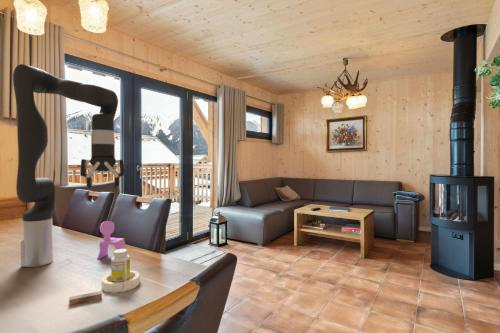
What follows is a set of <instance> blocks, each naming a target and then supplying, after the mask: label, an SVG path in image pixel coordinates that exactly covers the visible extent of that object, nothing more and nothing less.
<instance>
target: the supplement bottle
mask: <svg viewBox="0 0 500 333" xmlns="http://www.w3.org/2000/svg"><path fill="white" fill-rule="evenodd" d="M110 259H111V260H110V268H111V270H110V273H111V281H112V282H114V283H116V282H124V281H127V280H130V270H131V261H130V260H131V256H130V255H129V254H128V250H127V249H126V248H125V249H118V250H116V249H115V250H114V251H113V256H112V257H111V258H110Z"/></svg>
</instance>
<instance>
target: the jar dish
mask: <svg viewBox="0 0 500 333" xmlns="http://www.w3.org/2000/svg"><path fill="white" fill-rule="evenodd" d="M140 281H141V280H140V272H138V271H137V270H131V269H130V280H127V281H124V282H116V283H114V282H112V281H111V272H110V273H108V274H106V275H105V276H103V278H102V279H101V290H102V291H104V292H106V293H111V294H112V293H113V294H114V293H115V294H116V293H122V292H126V291H130V290H133V289H134V288H136V287H138V286H139V285H140Z"/></svg>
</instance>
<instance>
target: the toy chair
mask: <svg viewBox="0 0 500 333" xmlns="http://www.w3.org/2000/svg"><path fill="white" fill-rule="evenodd" d="M99 231H100V233H101V234H102V236H103V240H101V241H99V244H98V245H99V246H98V247H99V252H98V255H97V258H96V260H100V259H101V258H103V257H106V256H108V255H109V246H111V245H112V246H114V248H115V250H118V249H126V248H125V247H126V241H125V238H124V237H123V238H122V237H111V234H113V233H114V231H115V223H114V222H113V221H110V220H104V221H103V222H102V223H100V226H99Z"/></svg>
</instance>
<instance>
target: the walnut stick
mask: <svg viewBox="0 0 500 333" xmlns="http://www.w3.org/2000/svg"><path fill="white" fill-rule="evenodd" d="M102 295H103V294H102V290H100V291H98V290H97V291H93V292H89V293H83V294H78V295H74V296H73V295H72V296H69V297H68V299H69V300H68V304H69V305H68V306H69V307H72V306H76V305H81V304H87V303H91V302H96V301H100V300H103V296H102Z"/></svg>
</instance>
